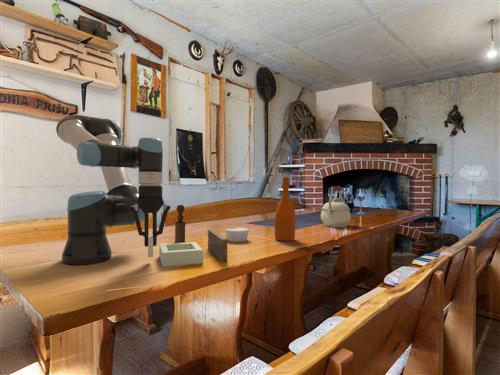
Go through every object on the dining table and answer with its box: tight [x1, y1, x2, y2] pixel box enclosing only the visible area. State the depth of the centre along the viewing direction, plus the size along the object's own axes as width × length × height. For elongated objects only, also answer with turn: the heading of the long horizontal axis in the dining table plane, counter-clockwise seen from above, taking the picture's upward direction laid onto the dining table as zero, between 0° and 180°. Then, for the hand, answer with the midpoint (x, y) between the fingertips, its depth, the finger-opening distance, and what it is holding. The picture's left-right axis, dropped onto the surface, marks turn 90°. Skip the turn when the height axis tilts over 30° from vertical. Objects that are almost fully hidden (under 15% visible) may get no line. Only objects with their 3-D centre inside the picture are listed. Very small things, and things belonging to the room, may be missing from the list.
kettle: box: [320, 185, 352, 228], centre depth 186 cm, size 25×18×25 cm
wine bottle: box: [274, 176, 296, 242], centre depth 140 cm, size 10×10×30 cm
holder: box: [158, 241, 204, 268], centre depth 102 cm, size 13×13×4 cm
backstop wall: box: [207, 229, 228, 263], centre depth 110 cm, size 2×20×8 cm, turn 21°
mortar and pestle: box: [173, 204, 186, 243], centre depth 117 cm, size 7×6×18 cm
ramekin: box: [224, 227, 250, 243], centre depth 138 cm, size 11×11×5 cm
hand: (150, 255), depth 98 cm, fingers closed
